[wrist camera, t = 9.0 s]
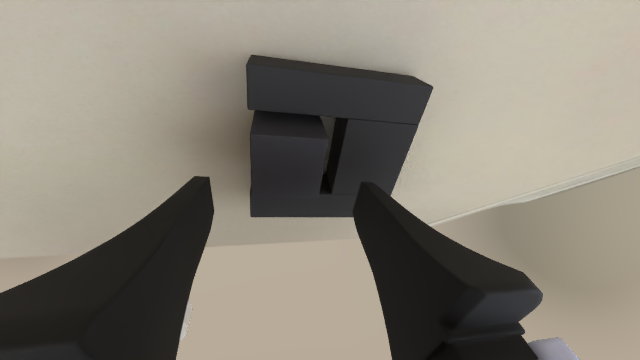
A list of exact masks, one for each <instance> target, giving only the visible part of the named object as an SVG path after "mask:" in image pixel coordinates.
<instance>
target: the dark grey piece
mask: <svg viewBox="0 0 640 360" xmlns="http://www.w3.org/2000/svg"><path fill="white" fill-rule="evenodd" d="M246 73H247V108H248V109H249V110H259V111H270V112H282V113H293V114H304V115H316V116H327V117H337V118H336V124H335V129H334V134H333V139H332V145H331V150H330V155H329V160H328V166H327V171H326V175H322V181H321V186H320V192H319V197H318V198H291V197H252V196H251V189H250V212H251V217H354V216H353V212H352V211H353V208H354V205H355V201H356V198H357V194H358V191H359V188H360V184H361V182H373V183H375V184H376V185H377V186H379V187H380V188H381V189H382V190H383V191H385V192H386V193H387V194H388V195H389V196H390V195H391V193H392V191H393V188H394V186H395V183H396V181H397V178H398V176H399V173H400V171H401V168H402V166H403V163H404V161H405V158H406V156H407V153H408V151H409V148H410V146H411V143H412V141H413V138H414V136H415V133H416V131H417V128H418V124H419V122H420V120H421V117H422V115H423V112H424V110H425V107H426V105H427V102H428V100H429V97H430V95H431V92H432V90H433V86H431V85H429V84H427V83H425V82H423V81H421V80H419V79H417V78H415V77H413V76H406V75H399V74H391V73H384V72H376V71H369V70H361V69H354V68H346V67H339V66H331V65H324V64H316V63H309V62H301V61H294V60H286V59H279V58H271V57H264V56H256V55H251V56H250V58H249V60H248V62H247V64H246Z"/></svg>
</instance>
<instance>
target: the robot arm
mask: <svg viewBox="0 0 640 360" xmlns="http://www.w3.org/2000/svg"><path fill="white" fill-rule="evenodd" d="M352 212H353V216H354V221H355V225H356V229H357V232H358V235H359V237H360V240H361V243H362V245H363V248H364V250H365V253H366V256H367V258H368V261H369V263H370V266H371V269H372V272H373V275H374V279H375V282H376V286H377V290H378V294H379V298H380V302H381V306H382V311H383V315H384V319H385V324H386V329H387V333H388V339H389V344H390V350H391V356H392V360H579V358H578V357H577V356H576V355H575V354H574V353H573V351H572V350H571V349H570V348H569V347H568V346H567V345H566V343H565V342H564V341H563V340H562V339H561V338H558V337H557V338H549V339H542V340H536V341H532V342H530V343H527V342H526V341H525V340H524V338H522V336H521V335H523V334H524V333H525V330H524V329H523V327H522V326H521V325H520V324H519V321H520V320H521V319H523V318H524V317H525V316H526V315H528V314H529V313H530V312H532V311H533V310H534V309H535V308H536V307H537V306H538V305H539V304H540V303H541V301H542V297H543V294H542V292H541V291H540V290H539V289H538V288H537V287H536V286H535V284H534V283H533V282H532V281H531V280H530V279H529V278H528V277H527V276H526V275H525V274H524V273H523V272H521V271H518V270H516V269H514V268H511V267H508V266H506V265H503V264H501V263H499V262H496V261H494V260H491V259H489V258H487V257H485V256H483V255H480V254H479V253H476V252H474V251H472V250H470V249H468V248H466V247H464V246H462V245H460V244H459V243H457V242H455V241H453V240H451V239H449V238H448V237H446V236H444V235H442V234H441V233H439V232H438V231H436V230H435V229H433V228H432V227H430V226H428V225H427V224H425V223H424V222H423V221H421V220H420V219H418V218H417V217H416V216H414V215H413V214H412V213H410V212H409V211H408V210H406V209H405V208H404V207H403V206H401V205H400V204H399V203H398V202H397V201H395V200H394V199H393V198H392V197H391V196H389V195H388V194H387V193H386V192H385V191H383V190H382V189H381V188H380V187H379V186H377V185H376V184H375V183H373V182H361V184H360V188H359V191H358V194H357V198H356V201H355V205H354V208H353V211H352ZM213 215H214V206H213V199H212V192H211V185H210V178H209V177H199V176H194V177H193V178H192V179H191V180H190V181H188V182H187V183H186V184H185V185H184V186H183V187H181V188H180V189H179V190H178V191H177V192H176V193H175V194H173V195H172V196H171V197H170V198H169V199H167V200H166V201H165V202H164V203H163V204H161V205H160V206H159V207H157V208H156V209H155V210H153V211H152V212H151V213H149V214H148V215H147V216H145V217H144V218H143V219H141V220H140V221H139V222H137V223H136V224H134V225H133V226H131V227H130V228H128V229H127V230H125V231H123V232H122V233H120V234H119V235H117V236H115V237H114V238H112V239H110V240H109V241H107V242H105V243H103V244H101V245H100V246H98V247H96V248H94V249H92V250H91V251H89V252H87V253H85V254H83V255H82V256H80V257H78V258H76V259H74V260H72V261H70V262H68V263H66V264H64V265H62V266H60V267H58V268H56V269H54V270H51V271H49V272H47V273H45V274H43V275H41V276H39V277H37V278H34V279H32V280H30V281H28V282H25V283H23V284H21V285H18V286H16V287H14V288H12V289H9V290H7V291H4V292H2V293H0V360H176V355H177V350H178V345H179V340H180V335H181V331H182V326H183V321H184V317H185V312H186V308H187V303H188V299H189V295H190V290H191V286H192V283H193V279H194V276H195V273H196V270H197V267H198V264H199V262H200V259H201V256H202V253H203V250H204V247H205V245H206V242H207V239H208V236H209V233H210V230H211V225H212V220H213Z"/></svg>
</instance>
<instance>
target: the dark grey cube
mask: <svg viewBox="0 0 640 360" xmlns="http://www.w3.org/2000/svg"><path fill="white" fill-rule="evenodd" d="M328 142H329V139H328V136H327V134H326V131H325V129H324V126H323V124H322V121H321V119H320V116H316V115H304V114H293V113H282V112H270V111H259V110H255V113H254V118H253V122H252V127H251V132H250V157H251V196H252V197H291V198H318V197H319V192H320V186H321V181H322V175H323V170H324V164H325V159H326V153H327V148H328Z"/></svg>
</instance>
